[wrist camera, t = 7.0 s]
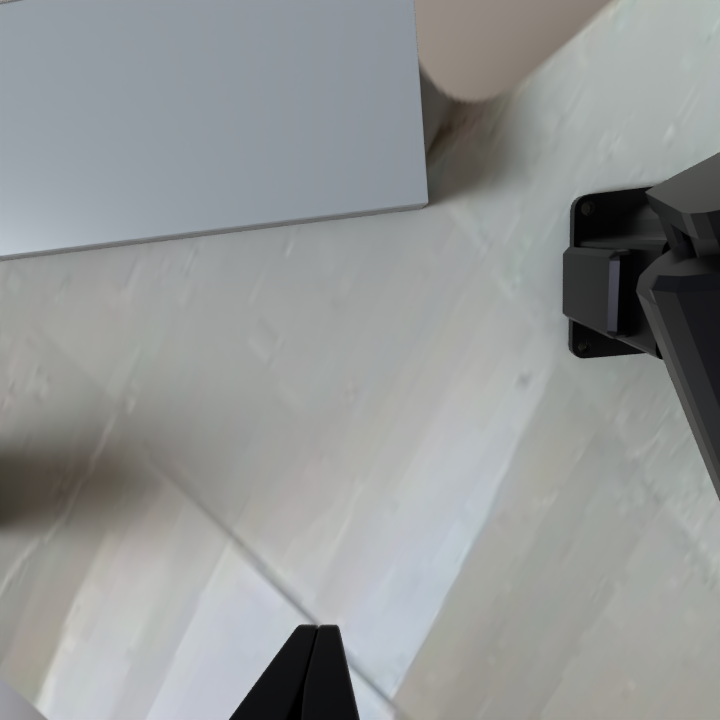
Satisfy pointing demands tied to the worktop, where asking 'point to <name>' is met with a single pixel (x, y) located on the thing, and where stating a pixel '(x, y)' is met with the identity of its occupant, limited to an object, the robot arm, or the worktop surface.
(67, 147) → the cover
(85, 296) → the worktop surface
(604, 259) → the robot arm
